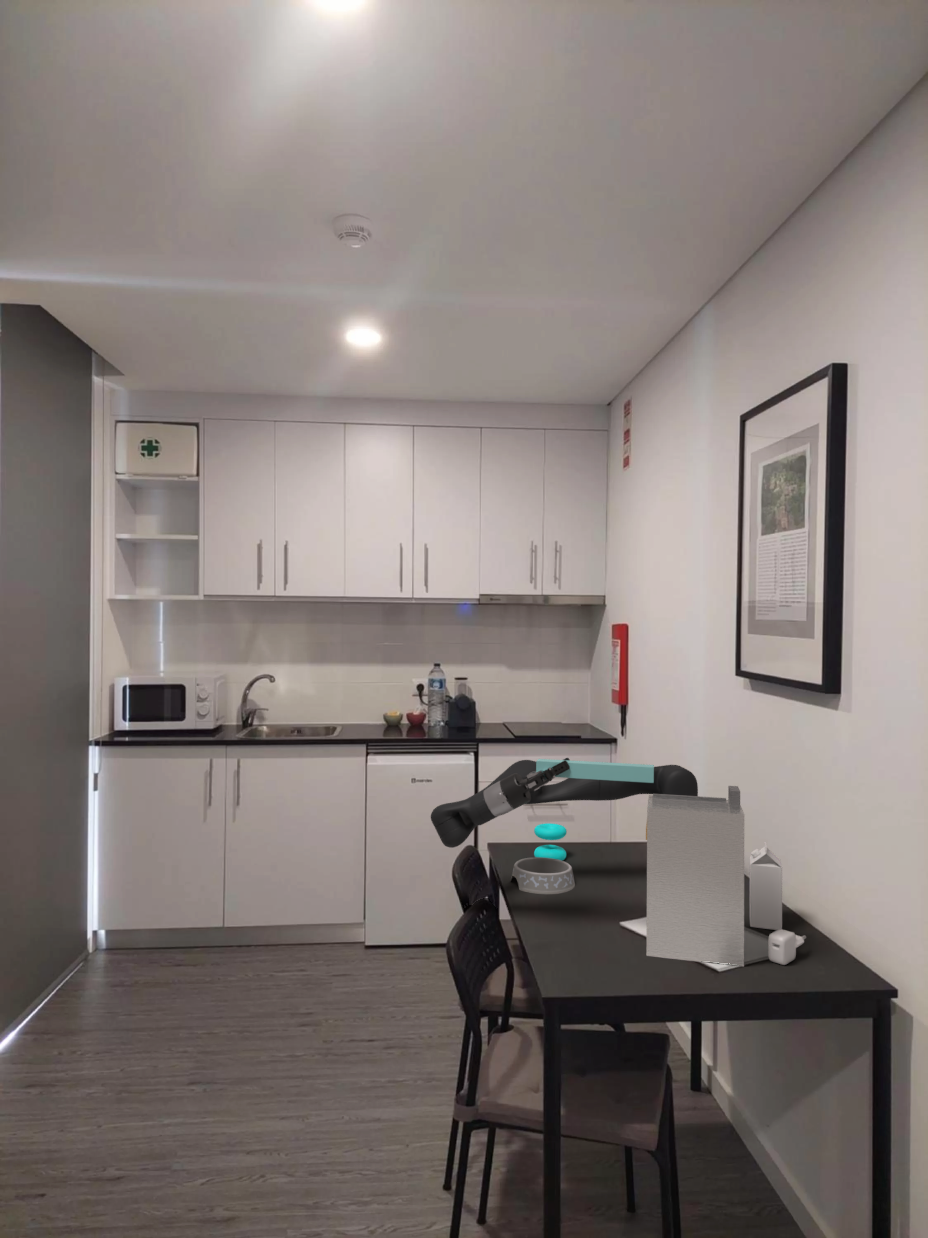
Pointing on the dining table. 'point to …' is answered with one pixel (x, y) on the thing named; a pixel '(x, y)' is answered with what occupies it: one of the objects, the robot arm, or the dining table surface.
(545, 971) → the dining table surface
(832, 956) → the dining table surface
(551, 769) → the robot arm
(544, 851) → the donuts
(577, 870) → the dining table surface
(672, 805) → the tall grey box
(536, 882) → the dog bowl
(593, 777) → the teal tapered block
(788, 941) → the power adapter
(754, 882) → the milk carton
